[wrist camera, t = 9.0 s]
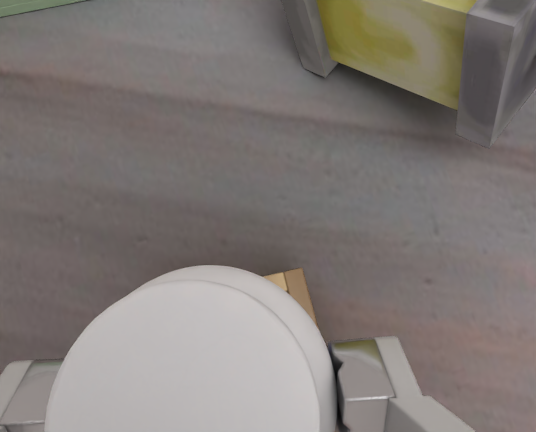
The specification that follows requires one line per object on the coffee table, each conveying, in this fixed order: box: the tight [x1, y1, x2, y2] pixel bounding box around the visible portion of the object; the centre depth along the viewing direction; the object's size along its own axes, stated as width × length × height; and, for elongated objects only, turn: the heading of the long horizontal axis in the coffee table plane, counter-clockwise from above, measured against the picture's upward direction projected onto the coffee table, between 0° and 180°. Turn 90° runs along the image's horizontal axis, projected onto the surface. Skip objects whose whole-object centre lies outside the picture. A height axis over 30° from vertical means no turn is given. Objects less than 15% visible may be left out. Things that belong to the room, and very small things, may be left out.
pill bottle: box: [44, 265, 337, 432], centre depth 11 cm, size 5×5×10 cm
